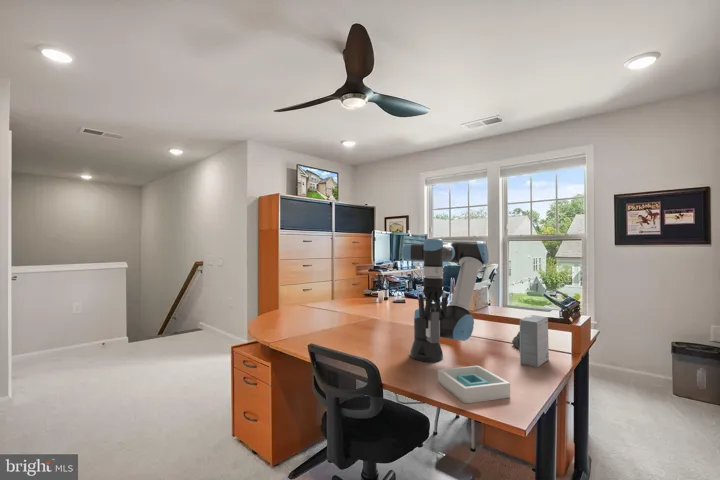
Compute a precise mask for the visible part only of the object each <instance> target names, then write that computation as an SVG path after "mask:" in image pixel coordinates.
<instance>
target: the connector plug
mask: <svg viewBox="0 0 720 480" xmlns="http://www.w3.org/2000/svg"><path fill="white" fill-rule="evenodd" d="M429 320H430V321H431V337H427V341H429V342H430V343H440V337H439V312H438V311H435V303H433V302H432V304H431V310H430V316H429Z"/></svg>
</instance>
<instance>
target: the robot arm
mask: <svg viewBox="0 0 720 480" xmlns="http://www.w3.org/2000/svg"><path fill="white" fill-rule="evenodd" d="M423 241H424V242H423V244H422V243H408V244H407V243H406V244H404V246H403V247H402V252H401V253H402V258H403V259H404V260H405V261H409V262H423V276H424V277H423V289H422V292H420V293H416V297H417V300H418V308H417V309H415V311H414V317H413V323H414V324H413V326H414V329H413V330H414V331H413V334H414V335H413V336H414V337H413V338H414V339H413V342H412V346H411V348H410V352H409V353H410V357H411V358H412V359H413V360H416V361H420V362H425V363H426V362H429V363H431V362H432V363H433V362H440V361H442V360H443V358H444V353H443V349H442V346H441V343H440V342H439V343H430V342H429V341H427V337H431V321H430V320H429V316H430V310H431V304H432V303H433V302H434V304H435V311H438V312H439V338H442V339H447V340H453V341H457V342H459V341H460V342H465V341H467V340H469V338H471V337H472V334H473V332H474V325H475V319H474V317H473V316H472V313H471V311H470V306H471V303H472V299H473V296H474V295H473V294H474V289H475V286H476V282H477V277H478V274H479V271H480V270H482V269H483V266H484V265H487V264H488V263H489V250H488V246H487V244H486V242H485V241H481V240H480V241H479V240H476V241H468V240H467V241H463V240H461V241H459V240H458V241H449V242H443V241H444V240H443V239H442V238H426V239H424V240H423ZM448 262H449V263H454V264H459V266H460V268H459V272H458V275H457V279H456V283H455V286H454V289H453V293H452V297H451V301H450V304H448V299H449V297H450V294H449V293H448V292H445V291H444V289H443V286H444V284H443V283H444V279H443V276H444V274H443V273H444V268H443V267H444V265H443V263H448ZM424 298H425V299H424ZM424 300H425V301H424Z"/></svg>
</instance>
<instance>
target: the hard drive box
mask: <svg viewBox="0 0 720 480" xmlns="http://www.w3.org/2000/svg"><path fill="white" fill-rule="evenodd" d="M519 331H520V349H519V363H520V364H521V365H526V366H530V367H535V368H539V367H540V366H541V365H543V364H544V363H546V362H547V361H548V360H549V358H550V355H549V353H550V352H549V348H550V347H549V318H548V316H544V315H543V316H542V315H534V314H530V315H528V316H526V317H522V318H521V319H519Z"/></svg>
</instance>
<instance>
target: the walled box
mask: <svg viewBox="0 0 720 480" xmlns="http://www.w3.org/2000/svg"><path fill="white" fill-rule="evenodd" d="M437 383H438V384H439V385H440V386H442V387H443V388H444V389H445V390H446V391H448V392H449V393H450V394H452V395H453V396H454V397H455V398H456V399H459V400H460V401H461V402H462V404H473V403H474V404H475V403H479V402H480V403H481V402H488V401H494V400H502V399H510V398H511V382H509V381H507V380H505V379H504V378H502V377H500V376H498V375H497V374H494V373H493V372H491V371H490V370H487V369H485V368H484V367H482V366H480V365H470V366H461V367H449V368H441V369H437Z"/></svg>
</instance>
